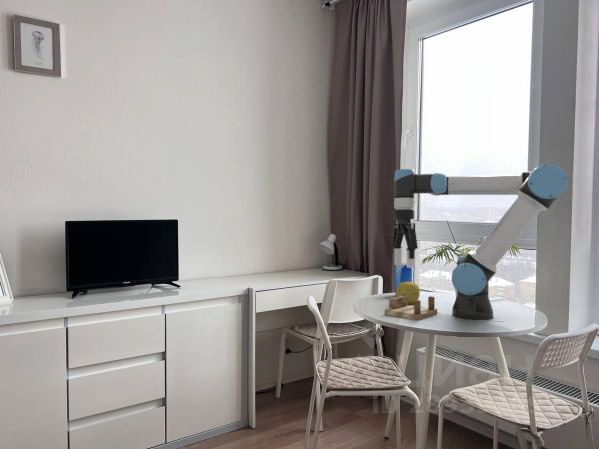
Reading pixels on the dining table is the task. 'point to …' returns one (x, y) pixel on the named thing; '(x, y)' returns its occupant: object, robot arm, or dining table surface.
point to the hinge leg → (398, 301)
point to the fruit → (408, 291)
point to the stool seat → (414, 310)
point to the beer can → (402, 274)
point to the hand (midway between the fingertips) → (404, 266)
